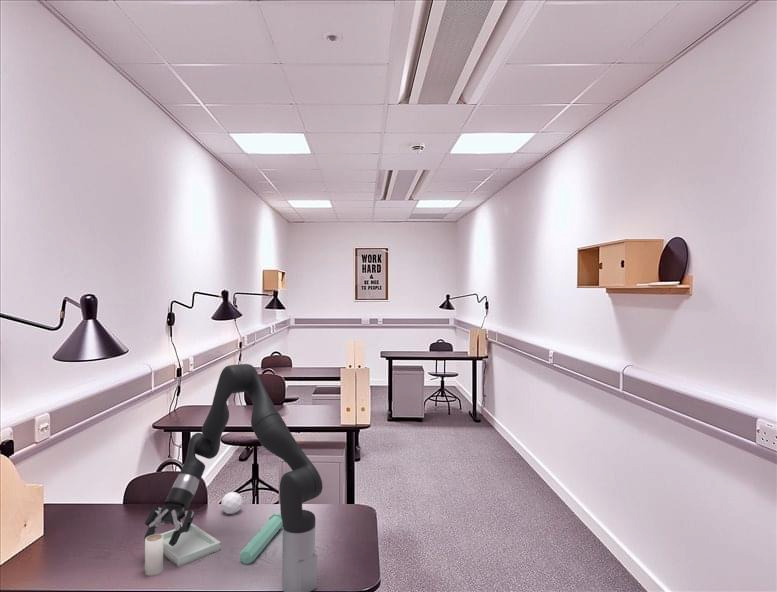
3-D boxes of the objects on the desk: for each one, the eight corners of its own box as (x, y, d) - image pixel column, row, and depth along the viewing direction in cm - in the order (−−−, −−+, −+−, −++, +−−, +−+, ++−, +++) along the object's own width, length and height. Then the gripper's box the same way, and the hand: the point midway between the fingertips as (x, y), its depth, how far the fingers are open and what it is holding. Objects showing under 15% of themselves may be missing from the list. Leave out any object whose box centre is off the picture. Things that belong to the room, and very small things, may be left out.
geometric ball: (225, 521, 188) (213, 504, 187) (239, 506, 194) (227, 490, 194) (236, 516, 183) (223, 499, 183) (250, 501, 190) (237, 484, 190)
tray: (220, 550, 161) (220, 542, 161) (178, 566, 150) (178, 558, 150) (192, 530, 174) (192, 523, 174) (151, 544, 164) (151, 536, 164)
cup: (165, 571, 148) (166, 537, 148) (148, 577, 144) (149, 543, 144) (159, 564, 151) (159, 532, 152) (142, 571, 148) (142, 537, 148)
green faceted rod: (249, 546, 151) (281, 510, 176) (233, 552, 152) (267, 515, 177) (256, 565, 151) (287, 526, 176) (240, 570, 152) (272, 531, 177)
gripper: (158, 484, 160) (132, 536, 149) (197, 488, 157) (173, 541, 146) (169, 494, 165) (144, 545, 154) (207, 498, 162) (184, 550, 151)
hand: (158, 543), depth 150 cm, fingers open, 8 cm apart
